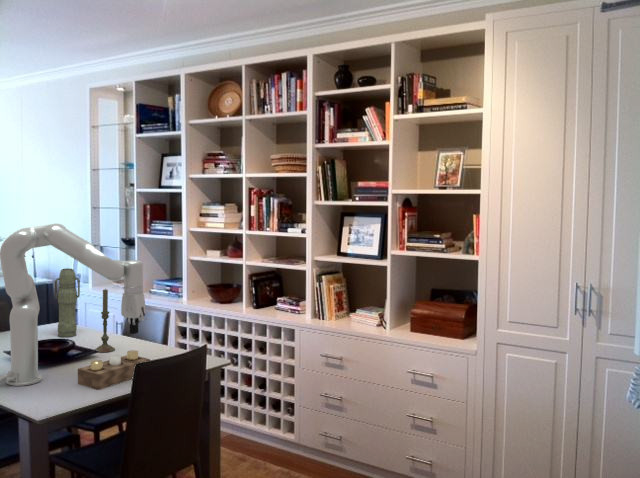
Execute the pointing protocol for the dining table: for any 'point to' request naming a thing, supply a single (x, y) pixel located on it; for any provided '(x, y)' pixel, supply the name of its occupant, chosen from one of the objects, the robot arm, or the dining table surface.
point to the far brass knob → (132, 355)
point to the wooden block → (108, 373)
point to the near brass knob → (96, 365)
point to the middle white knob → (115, 360)
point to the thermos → (67, 302)
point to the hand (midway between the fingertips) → (134, 333)
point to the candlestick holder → (105, 326)
